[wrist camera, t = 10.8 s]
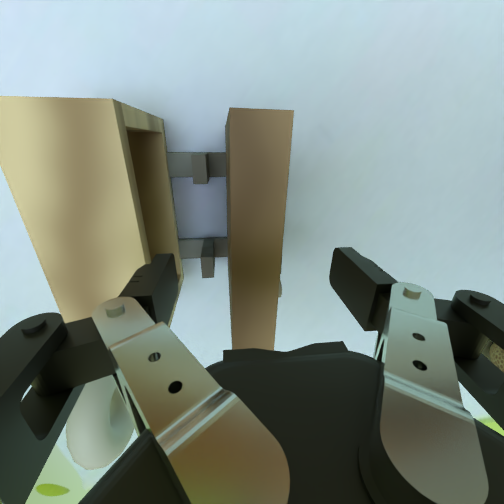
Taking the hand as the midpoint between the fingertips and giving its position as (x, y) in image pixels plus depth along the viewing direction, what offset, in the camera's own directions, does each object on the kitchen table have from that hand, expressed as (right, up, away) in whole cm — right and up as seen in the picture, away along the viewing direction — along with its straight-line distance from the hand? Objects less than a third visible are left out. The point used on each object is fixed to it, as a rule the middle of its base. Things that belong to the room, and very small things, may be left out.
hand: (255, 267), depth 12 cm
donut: (-16, -14, +18) cm, 28 cm away
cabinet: (-5, +5, +11) cm, 13 cm away
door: (-1, +5, +11) cm, 12 cm away
